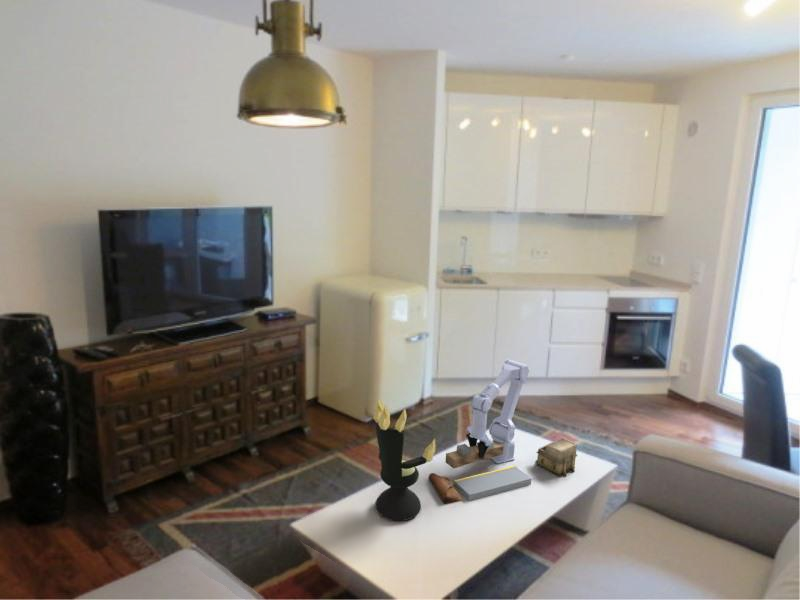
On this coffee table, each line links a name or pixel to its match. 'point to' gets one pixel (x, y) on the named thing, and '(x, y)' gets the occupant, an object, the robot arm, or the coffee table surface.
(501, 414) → the robot arm
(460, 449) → the crate
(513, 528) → the coffee table surface
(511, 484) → the dock
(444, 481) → the sunglasses case
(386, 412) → the candelabra
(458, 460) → the wooden plank
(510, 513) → the coffee table surface
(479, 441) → the teal square block
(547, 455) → the ornate brown chest
